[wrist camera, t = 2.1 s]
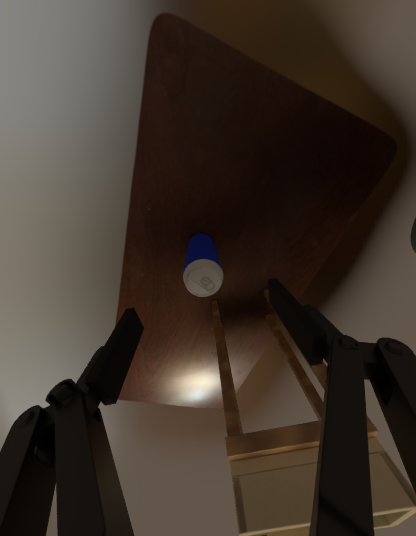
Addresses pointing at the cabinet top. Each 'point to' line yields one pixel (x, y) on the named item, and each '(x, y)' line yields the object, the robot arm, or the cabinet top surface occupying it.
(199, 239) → the beverage can
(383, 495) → the tray
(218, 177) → the cabinet top surface
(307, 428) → the shelf
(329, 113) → the cabinet top surface
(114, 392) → the robot arm
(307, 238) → the cabinet top surface
